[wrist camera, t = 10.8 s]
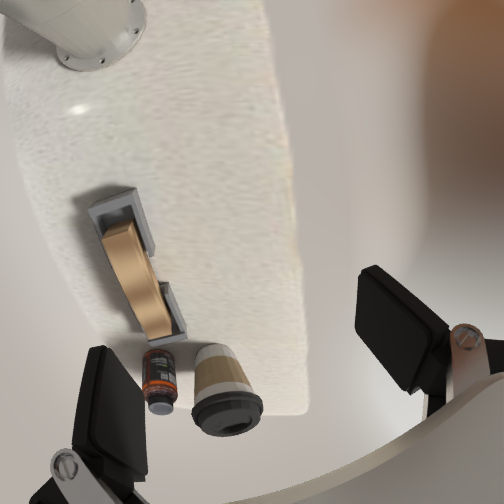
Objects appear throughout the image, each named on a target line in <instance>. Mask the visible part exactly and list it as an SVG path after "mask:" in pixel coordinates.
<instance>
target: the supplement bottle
mask: <svg viewBox="0 0 504 504" xmlns="http://www.w3.org/2000/svg"><path fill="white" fill-rule="evenodd" d="M142 366H143V367H142V391H143V393H144V397H145V400H146V401H147V402H148V406H149V410H150V412H152V413H154V414H156V415H167V414H170V413H172V411H173V403H174V402H175V401H176V400H177V397H178V393H177V383H176V373H175V362H174V358H173V356H172V355H171V354H170V353H168V352H166V351H163V350H152V351H149V352H147V353H146V354H145V355H144V357H143V365H142Z"/></svg>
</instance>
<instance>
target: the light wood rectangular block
mask: <svg viewBox="0 0 504 504" xmlns="http://www.w3.org/2000/svg"><path fill="white" fill-rule="evenodd" d="M101 240H102V243H103V245H104V248H105V250H106V253H107V255H108V257H109V260H110V262H111V264H112V267H113V269H114V271H115V273H116V276H117V278H118V280H119V282H120V284H121V286H122V288H123V291H124V293H125V295H126V297H127V299H128V301H129V303H130V305H131V307H132V309H133V311H134V313H135V314H136V316H137V318H138V320H139V322H140V324H141V326H142V328H143V329H144V331H145V333H146V335H147V337H148V338H149V340H150V339H154V338H159V337H163V336H167V335H171V334H172V330H171V312H170V310H169V307H168V305H167V303H166V300H165V298H164V296H163V293H162V291H161V289H160V286H159V284H158V281H157V279H156V276H155V274H154V271H153V269H152V266H151V264H150V261H149V259H148V256H147V253H146V251H145V248H144V245H143V242H142V240H141V237H140V234H139V231H138V228H137V225H136V223H135V220H134V218H131V219H127V220H124V221H121V222H118V223H115V224H112V225H110V227H109V228H108V230H107V231H106V233H105V234H104V236H103V238H102V239H101Z"/></svg>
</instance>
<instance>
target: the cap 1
mask: <svg viewBox="0 0 504 504" xmlns="http://www.w3.org/2000/svg"><path fill="white" fill-rule="evenodd" d="M87 210H88V213H89V216H90V219H91V218H92V221H93V223H94V226H95V229H96V231H97V234H98V236H99V239H100V242H101V244H102V246H103V249H104V251H105V254H106V256H107V258H108V261H109V263H110V265H111V268H113V267H112V264H111V262H110V260H109V257H108V255H107V253H106V250H105V248H104V245H103V243H102V240H101V239H102V238H103V236H104V234H105V233H106V231H107V230H108V228H109V227H110V225H112V224H115V223H118V222H121V221H124V220H127V219H131V218H134V220H135V223H136V225H137V228H138V231H139V234H140V237H141V240H142V242H143V245H144V248H145V251H147V252H148V254H149V257H152V256H154V252H155V244H154V241H153V239H152V236H151V233H150V230H149V227H148V224H147V221H146V218H145V214H144V211H143V208H142V205H141V202H140V198H139V195H138V192H137V188H134V189H131V190H128V191H125V192H122V193H120V194H117V195H114V196H111V197H108V198H105V199H103V200H100V201H97V202H95V203H94V204H93V205H92V206H91V207H89V208H88V209H87Z"/></svg>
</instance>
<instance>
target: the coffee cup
mask: <svg viewBox="0 0 504 504" xmlns="http://www.w3.org/2000/svg"><path fill="white" fill-rule="evenodd" d="M262 413H263V403H262V399H261V398H260V397H259V396H258V395H256V394H255V393H254V391H253V389H252V387H251V385H250V383H249V381H248V379H247V377H246V375H245V373H244V371H243V369H242V367H241V366H240V364H239V362H238V360H237V358H236V356H235V354H234V352H233V351H232V350H231V349H230V348H229V347H228V346H226V345H223V344H211V345H207V346H205V347H203V348H202V349H200V350H199V352H198V353H197V355H196V359H195V386H194V407H193V408H192V413H191V415H192V417H193V420H194V422H195V424H196V425H197V426H199V427H200V428H201V429H202V431H203V432H205V433H206V434H208V435H212V436H218V437H227V436H234V435H239V434H242V433H244V432H247V431H249V430H250V429H252V428H254V427H255V426H256V425H257V424H258V423H259V421H260V416H261V414H262Z"/></svg>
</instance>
